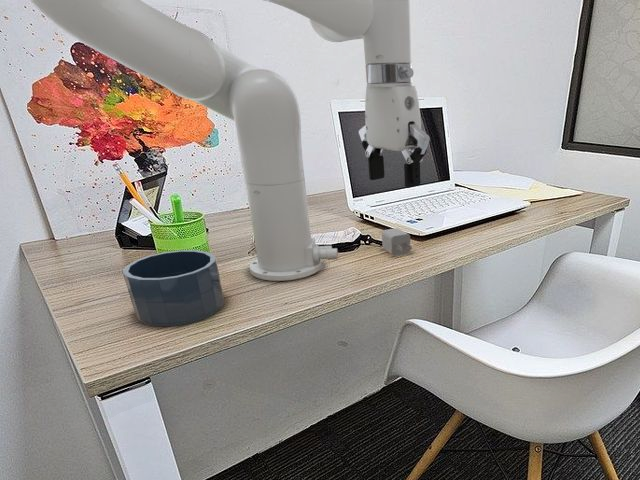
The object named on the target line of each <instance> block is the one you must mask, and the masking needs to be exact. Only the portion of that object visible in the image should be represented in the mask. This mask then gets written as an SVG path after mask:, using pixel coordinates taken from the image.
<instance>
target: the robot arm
mask: <svg viewBox="0 0 640 480" xmlns="http://www.w3.org/2000/svg"><path fill="white" fill-rule="evenodd" d="M263 1H265V2H269V3H272V4H275V5H278V6H281V7H283V8H286V9H289V10H290V11H293V12H295V13H297V14H299V15H301V16H303V17H305V18H307V19H309V23H310V26H311V27H312V29H313V31H314V32H315V33H316V34H317V35H318V36H319V37H320V38H322V39H324V40H326V41H327V42H331V43H341V42H342V43H343V42H349V41H355V40H363V51H364V64H365V65H364V67H365V78H366V79H365V80H366V87H365V99H364V100H365V103H364V112H365V113H364V120H365V121H364V123H365V125H364V126H362V127H361V128H360V129H359V130H358V135H359V138H360V141H361V146H362V148H363V150H364V151H365V157H366V158H367V162H368V177H369V180H370V181H376V180H382V179H384V178H385V160H384V155H382V152H383V151H384V150H388V151H395V152H401V154H402V156H403V158H404V160H405V161H406V162H405V163H403V173H404V187H405V188H407V189H409V188H414V187H417V186H421V163H422V162H423V160H424V157H425V155H426V154H427V152H428V150H427V149H428V147H429V143H430V141H431V137H430V136H429V134H427V133H426V132H425V131H424V130H422V118H421V109H420V101H419V96H418V91H417V87H416V85H413V76H414V70H413V67H412V65H413V64H412V36H411V34H412V30H411V29H412V28H411V2H410V0H263ZM29 2H31V3H32V5H33V6H34V7H35V8H36V9H37V10H38V11H39V12H40V13H41V14H42V15H43V16H45V17H46V18H47V19H48V20H49V21H50V22H52V23H53V24H54V25H55V26H56V27H58V28H59V29H61V30H62V31H63V32H65V34H67V35H69V36H71V37H72V38H74V39H75V40H77V41H79V42H80V43H82V44H83V45H85V46H87V47H89V48H91V49H93V50H94V51H96V52H98V53H100V54H102V55H104V56H106V57H108V58H110V59H111V60H114V61H115V62H117V63H119V64H121V65H123V66H124V67H126V68H128V69H130V70H131V71H134V72H136V73H137V74H140V75H142V76H144V77H145V78H148V79H149V80H152V81H153V82H154V83H157V84H159V85H161V86H162V87H164V88H166V89H167V90H169V91H171V92H172V93H173V94H175V95H176V96H178V97H181V98H182V99H186V100H189V101H193V102H195V103H197V104H199V105H201V106H203V107H205V108H207V109H209V110H211V111H213V112H215V113H217V114H219V115H221V116H223V117H225V118H227V119H229V120H231V121H233V122H234V126H235V130H236V131H235V132H236V139H237V143H238V144H237V145H238V151H239V157H240V163H241V169H242V175H243V181H244V186H245V192H246V198H247V204H248V210H249V216H250V222H251V228H252V229H251V230H252V234H253V240H254V246H255V253H256V258H255V259H253V260H252V261H251V262H250V264H249V265H248V266H249V272H250V274H251V275H252V276H253V277H255V278H257V279H260V280H264V281H272V282H284V281H293V280H299V279H303V278H307V277H309V276H313V275H314V274H316V273H318V272H319V271H320V270H321V269H322V268H323V267H324V266H323V265H324V263H323V260H329V261H330V260H338V259H339V250H338V249H339V248H337V247H335V248H333V246H332V245H319V244H316V238H315V237H312V234H311V233H312V232H311V225H310V217H309V216H310V215H309V207H308V198H307V188H306V179H305V171H304V170H305V169H304V161H303V150H302V125H301V123H302V121H301V110H300V104H299V101H298V97H297V95H296V93H295V90H294V89H293V87H292V86H291V85H290V83H289V81H287V79H285V78H284V76H283V77H282V76H281V75H280V74H278V73H277V72H275V71H272V70H269V69H265V68H259V67H257V66H255V65H253V64H252V63H250V62H248V61H246V60H245V59H243V58H241V57H239V56H237V55H236V54H234V53H232V52H231V51H229V50H227V49H226V48H224V47H222V46H221V45H219V44H217V43H215V42H214V41H213V39H211V38H210V37H209V36H208V35H206V33H204V32H202V31H200V30H198V29H196V28H193V27H190V26H188V25H186V24H184V23H182V22H180V21H179V20H176V19H174V18H173V17H171V16H169V15H167V14H165V13H164V12H161V11H159V10H158V9H156V8H154V7H153V6H151V5H149V4H148V3H146V2H144V1H143V0H29Z"/></svg>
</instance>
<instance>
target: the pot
mask: <svg viewBox="0 0 640 480" xmlns="http://www.w3.org/2000/svg"><path fill="white" fill-rule="evenodd" d="M218 268H219V267H218V262H217V257H216V255H214V254H212V253H211V252H208V251H203V250H199V249H198V250H197V249H190V250H189V249H182V250H181V249H180V250H172V251H163V252H159V253H154V254H149V255H146V256H143V257H141V258H139V259H136V260H134V261H132V262H130V263H129V264H127V265H126V266H124V268H123V270H122V275H123V279H124V282H125V284H126V288H127V292H128V296H129V298H130V301H131V304H132V308H133V312H134V314H135V317H136V318H137V320H138V321H139V322H140V323H142V324H144V325H146V326H150V327H157V328H158V327H161V328H164V327H166V328H167V327H177V326H183V325H189V324H193V323H196V322H200V321H202V320H204V319H208V318H209V317H211V316H213V315H215V314H216V313H218V312H220V310H221V309H222V308H223V306H224V304H225V299H224V291H223V287H222V283H221V277H220V272H219V269H218Z"/></svg>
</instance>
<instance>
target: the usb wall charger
mask: <svg viewBox="0 0 640 480" xmlns="http://www.w3.org/2000/svg"><path fill="white" fill-rule="evenodd" d="M381 243H382V249H383V250H384V251H386V252H387V253H389V254H390V255H391V256H393V257H398V256H403V255H408V254H410V252H411V251H412V250H413V246H412V245H411V235H410V234H409V233H407V232H406V231H404V230H402V229H400V228H399V227H396V228H389V229H384V230H382V232H381Z"/></svg>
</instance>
